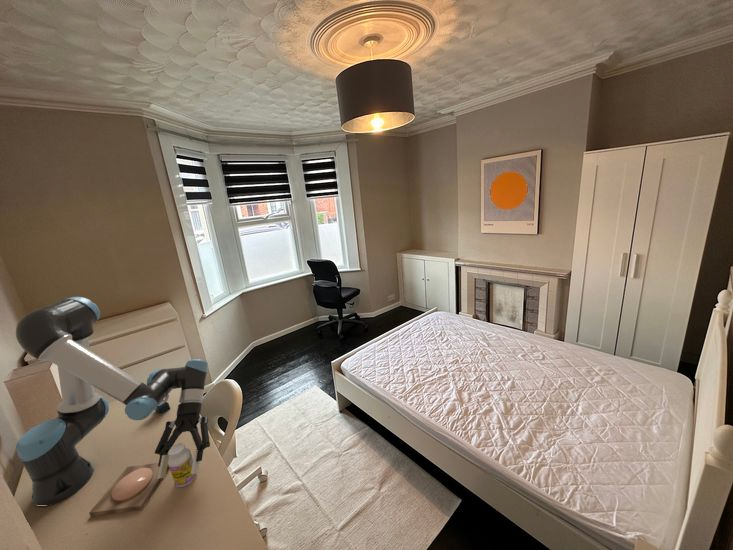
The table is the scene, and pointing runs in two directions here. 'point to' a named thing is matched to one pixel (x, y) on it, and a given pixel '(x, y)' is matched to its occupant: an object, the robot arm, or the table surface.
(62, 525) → the table surface
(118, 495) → the pink dome
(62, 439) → the robot arm
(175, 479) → the supplement bottle
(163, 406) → the watch
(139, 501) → the square brown tray
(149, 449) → the table surface
